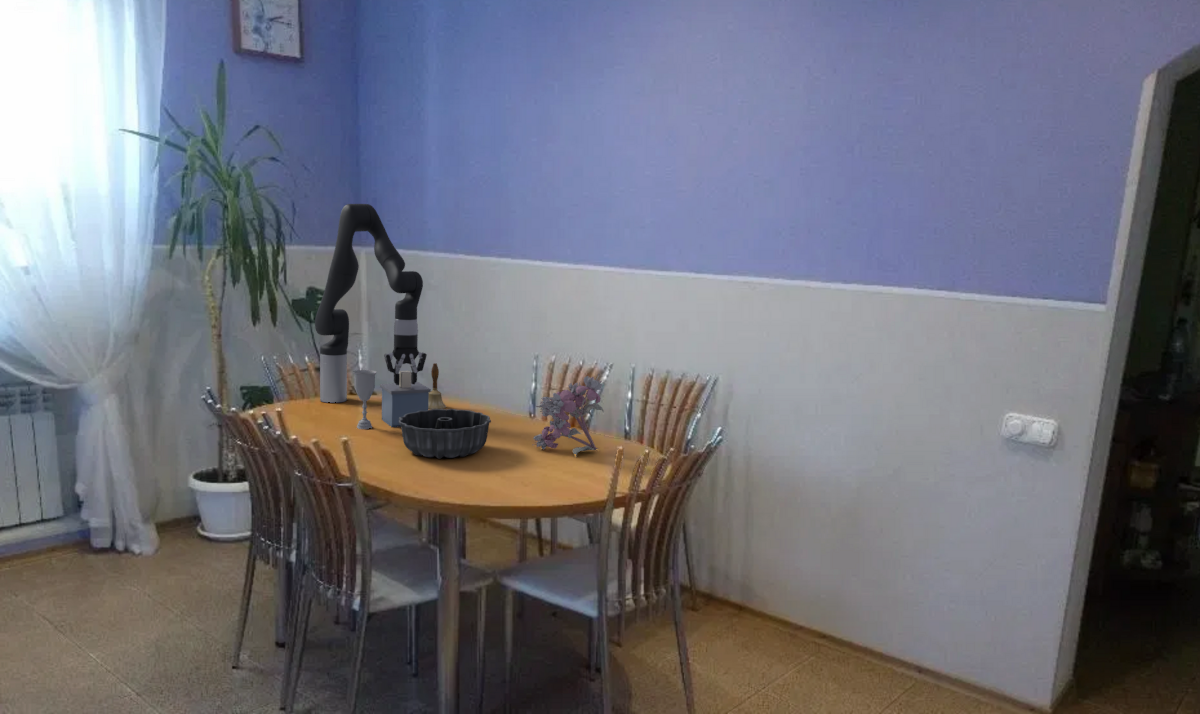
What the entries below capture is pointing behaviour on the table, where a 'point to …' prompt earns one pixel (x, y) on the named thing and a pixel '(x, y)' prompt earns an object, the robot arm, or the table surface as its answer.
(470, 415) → the bundt pan
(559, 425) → the flower
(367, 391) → the chalice
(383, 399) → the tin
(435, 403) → the hand bell
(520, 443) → the table surface
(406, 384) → the lid
